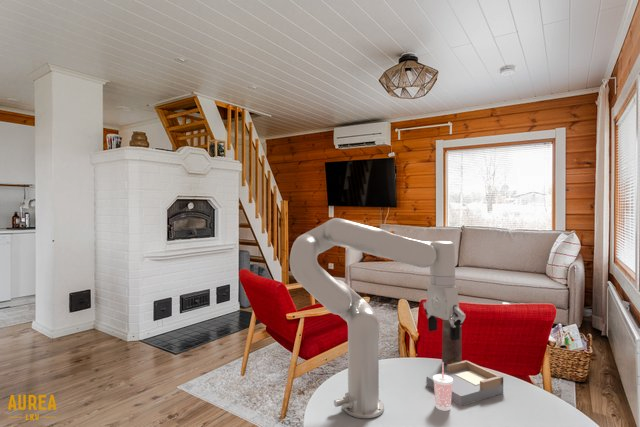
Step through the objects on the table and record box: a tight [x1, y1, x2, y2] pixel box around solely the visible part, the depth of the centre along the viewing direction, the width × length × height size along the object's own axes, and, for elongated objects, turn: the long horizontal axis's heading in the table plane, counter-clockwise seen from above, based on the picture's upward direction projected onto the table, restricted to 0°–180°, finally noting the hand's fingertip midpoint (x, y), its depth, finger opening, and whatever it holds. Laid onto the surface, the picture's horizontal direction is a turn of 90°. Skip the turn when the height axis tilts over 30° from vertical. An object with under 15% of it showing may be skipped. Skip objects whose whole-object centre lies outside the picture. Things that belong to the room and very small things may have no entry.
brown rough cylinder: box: [441, 317, 463, 366], centre depth 152 cm, size 8×7×20 cm
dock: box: [426, 359, 504, 406], centre depth 130 cm, size 19×16×6 cm
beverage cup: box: [433, 361, 453, 411], centre depth 118 cm, size 6×6×14 cm
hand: (443, 335), depth 118 cm, fingers open, 9 cm apart
